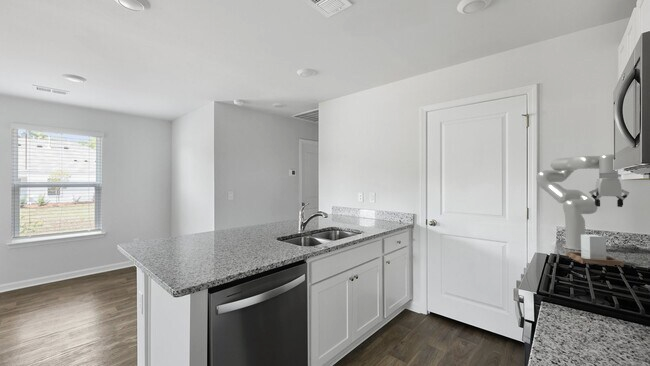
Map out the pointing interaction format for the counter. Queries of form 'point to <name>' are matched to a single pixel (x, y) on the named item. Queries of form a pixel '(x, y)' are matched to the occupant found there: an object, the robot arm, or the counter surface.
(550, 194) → the robot arm
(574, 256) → the walnut tray
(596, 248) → the supplement box
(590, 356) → the counter surface
